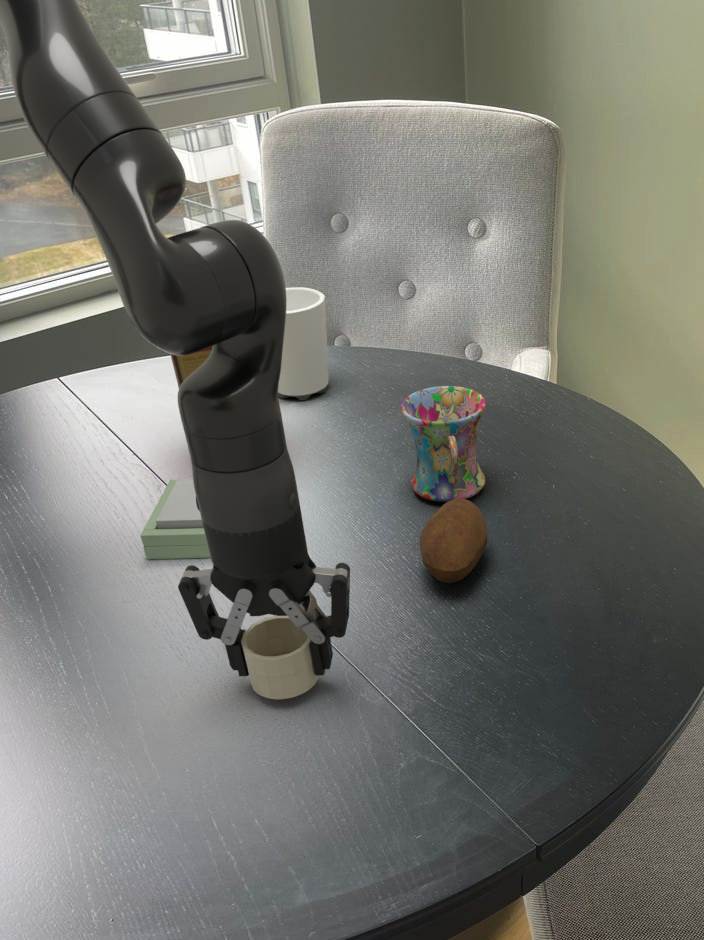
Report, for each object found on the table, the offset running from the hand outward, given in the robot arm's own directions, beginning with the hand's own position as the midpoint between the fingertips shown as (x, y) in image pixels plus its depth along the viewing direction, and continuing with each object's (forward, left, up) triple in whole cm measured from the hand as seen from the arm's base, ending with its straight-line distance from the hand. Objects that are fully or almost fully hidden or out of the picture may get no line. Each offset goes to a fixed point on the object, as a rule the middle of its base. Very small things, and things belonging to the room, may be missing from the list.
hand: (283, 669), depth 85 cm
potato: (+14, +18, -2) cm, 23 cm away
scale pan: (-13, +27, +1) cm, 30 cm away
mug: (+13, +33, -2) cm, 36 cm away
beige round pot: (0, 0, -1) cm, 1 cm away
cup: (-9, +63, -2) cm, 64 cm away
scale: (-13, +27, -2) cm, 30 cm away
